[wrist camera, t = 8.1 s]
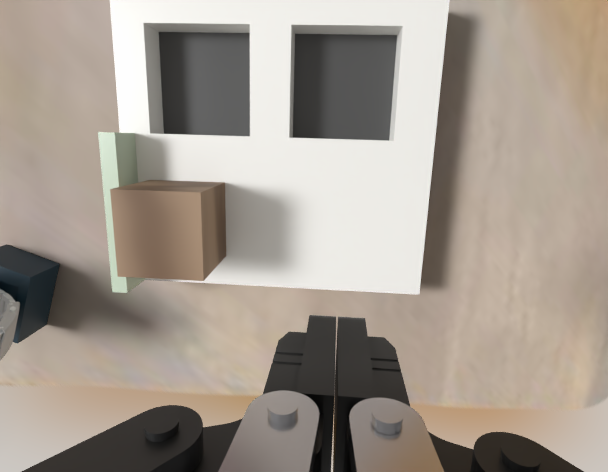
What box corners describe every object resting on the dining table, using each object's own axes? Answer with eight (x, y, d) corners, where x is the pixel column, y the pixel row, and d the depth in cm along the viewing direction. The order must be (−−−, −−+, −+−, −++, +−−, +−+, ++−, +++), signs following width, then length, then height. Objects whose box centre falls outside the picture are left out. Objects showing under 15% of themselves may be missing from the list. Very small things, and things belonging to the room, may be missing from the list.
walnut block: (225, 182, 27) (200, 192, 22) (226, 255, 28) (203, 280, 23) (150, 179, 27) (110, 189, 22) (154, 252, 28) (117, 276, 23)
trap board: (438, 10, 26) (463, -19, 21) (412, 281, 30) (427, 309, 25) (129, 7, 27) (84, -21, 22) (146, 267, 31) (112, 292, 26)
